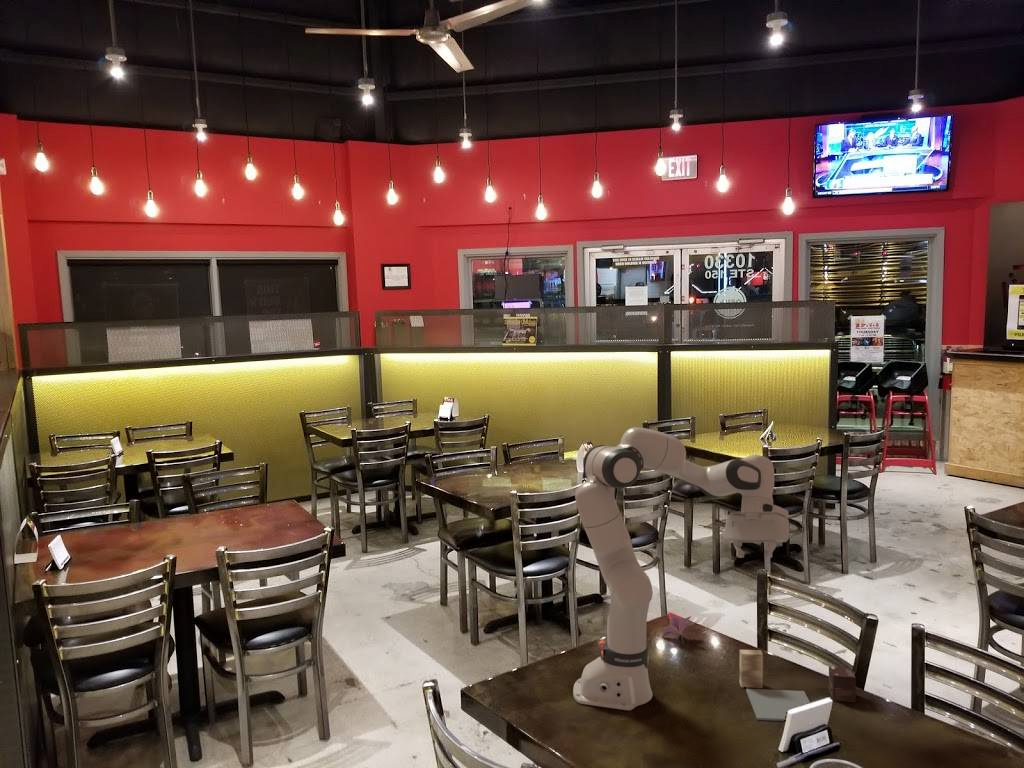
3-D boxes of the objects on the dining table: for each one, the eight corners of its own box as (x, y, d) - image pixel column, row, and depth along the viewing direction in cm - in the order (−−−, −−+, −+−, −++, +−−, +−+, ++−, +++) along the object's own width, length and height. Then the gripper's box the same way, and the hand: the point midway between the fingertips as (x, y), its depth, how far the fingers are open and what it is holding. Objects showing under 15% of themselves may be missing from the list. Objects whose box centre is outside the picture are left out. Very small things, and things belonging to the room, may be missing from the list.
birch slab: (741, 687, 218) (741, 654, 217) (739, 682, 221) (739, 649, 220) (762, 688, 217) (762, 654, 216) (760, 683, 220) (760, 650, 219)
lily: (701, 641, 252) (691, 612, 256) (701, 641, 241) (690, 611, 245) (666, 650, 254) (657, 622, 257) (665, 651, 243) (655, 621, 246)
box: (855, 702, 208) (856, 677, 207) (832, 701, 209) (833, 675, 208) (850, 692, 214) (851, 667, 213) (828, 690, 215) (828, 665, 214)
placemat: (757, 719, 200) (757, 717, 200) (746, 690, 216) (746, 688, 215) (819, 722, 198) (819, 720, 198) (803, 693, 214) (804, 691, 213)
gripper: (721, 509, 227) (717, 554, 222) (780, 505, 211) (778, 554, 206) (733, 514, 230) (730, 559, 226) (793, 511, 215) (791, 559, 210)
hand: (753, 557), depth 216 cm, fingers open, 8 cm apart
